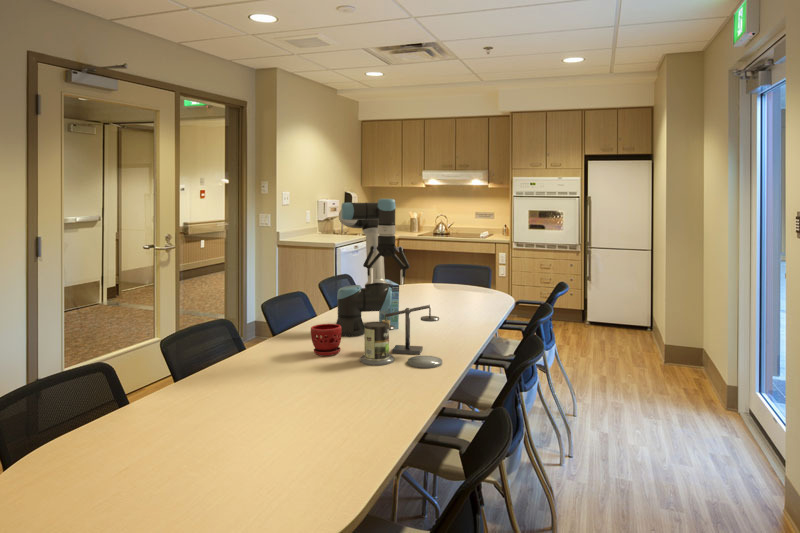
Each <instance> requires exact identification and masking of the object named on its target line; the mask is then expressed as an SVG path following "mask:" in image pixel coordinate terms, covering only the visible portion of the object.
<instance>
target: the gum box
mask: <svg viewBox="0 0 800 533" xmlns="http://www.w3.org/2000/svg"><path fill="white" fill-rule="evenodd" d="M385 281H386V282H387V283H388V287H391V288H392V299H391V305H390V308H389V309H388V310H387V311H380V312H379V311H378V314H379V315H378V322H381V321H382V320H385V314H388V313H393V312H398V311H400V284H398V283H396V282H395V281H392V280H391V279H386V278H385ZM399 317H400V314H399V315H394V316H390V317H386V320H390V325H393V326H395V329H394V330H398V329H399V324H400V322H399V319H400V318H399Z"/></svg>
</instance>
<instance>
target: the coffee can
mask: <svg viewBox="0 0 800 533" xmlns="http://www.w3.org/2000/svg"><path fill="white" fill-rule="evenodd" d="M363 324H364V334H363V335H364V355H365V357H364V358H365V359H366V360H370V361H382V360H386V359H388V358H389V355H390V331H389V324H388V323H386V322H379V321H369V322H365V323H363Z"/></svg>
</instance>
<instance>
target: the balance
mask: <svg viewBox="0 0 800 533" xmlns="http://www.w3.org/2000/svg"><path fill="white" fill-rule="evenodd" d="M431 308H432V306H431V304H428V305H421V306H417V307H413V308H410V307H405V309H402V310H399V311H398V312H393V313H388V314H385V320H382V321H381V322H386V323H388V324H389V332H390V331H394V330H396V329H395V326H393V325H390V320H386V317H390V316H394V315H399V316H400V315H403V314H405V318H404V320H405V321H404V322H405V323H404V325H405V327H404V328H405V329H404V330H405V332H404V334H405V336H404V337H405V338H404V340H405V341H404V344H405V345H403V344H402V345H399V344H396V345H394V346H393V348H392V350H391V351H392V354H400V355H415V354H418V355H417V356H421V354H420V353H422V352H423V348H424V347H423V346H422V345H411V312H417V311H421V310H426V309H427V310H429V312H428V315H424V316H423V315H422V316H421V317H420V321H422V322H426V323H427V322H429V323H431V322H432V323H433V322H438V321H440V317H439V316H435V315H431V313H432V310H431Z"/></svg>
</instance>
